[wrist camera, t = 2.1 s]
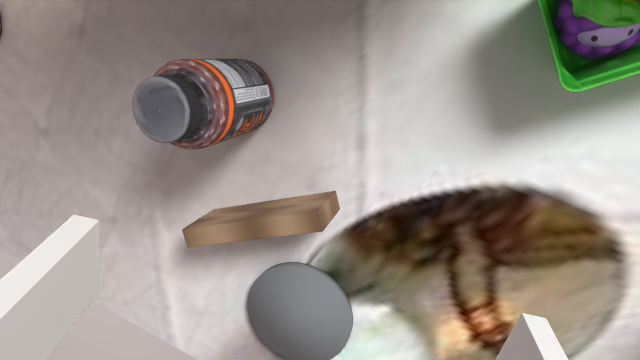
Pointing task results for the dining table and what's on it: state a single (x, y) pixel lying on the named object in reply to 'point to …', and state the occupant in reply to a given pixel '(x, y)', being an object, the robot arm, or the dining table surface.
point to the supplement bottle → (203, 101)
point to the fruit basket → (593, 40)
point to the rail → (263, 220)
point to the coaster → (300, 312)
